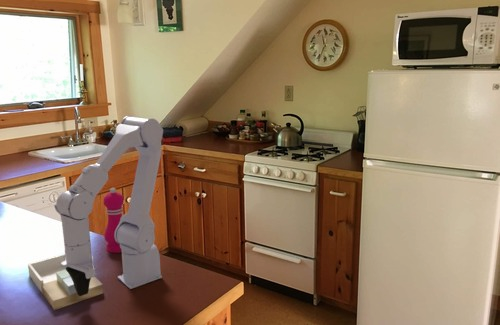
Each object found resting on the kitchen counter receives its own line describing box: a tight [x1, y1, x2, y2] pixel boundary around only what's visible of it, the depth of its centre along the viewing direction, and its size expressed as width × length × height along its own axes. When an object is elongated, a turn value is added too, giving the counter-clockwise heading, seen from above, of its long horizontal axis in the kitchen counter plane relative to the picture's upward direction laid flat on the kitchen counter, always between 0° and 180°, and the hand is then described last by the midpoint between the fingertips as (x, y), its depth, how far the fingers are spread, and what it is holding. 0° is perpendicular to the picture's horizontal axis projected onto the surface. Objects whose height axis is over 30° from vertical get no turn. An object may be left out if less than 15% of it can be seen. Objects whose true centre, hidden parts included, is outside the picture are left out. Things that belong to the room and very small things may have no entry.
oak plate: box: [41, 276, 104, 311], centre depth 112 cm, size 12×10×2 cm
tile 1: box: [56, 269, 70, 287], centre depth 113 cm, size 4×4×2 cm
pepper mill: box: [103, 187, 125, 254], centre depth 136 cm, size 7×7×20 cm
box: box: [27, 253, 66, 293], centre depth 120 cm, size 12×12×4 cm
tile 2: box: [62, 277, 77, 295], centre depth 109 cm, size 4×4×2 cm
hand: (82, 293), depth 106 cm, fingers closed
